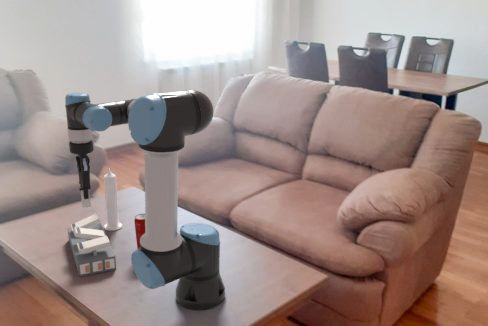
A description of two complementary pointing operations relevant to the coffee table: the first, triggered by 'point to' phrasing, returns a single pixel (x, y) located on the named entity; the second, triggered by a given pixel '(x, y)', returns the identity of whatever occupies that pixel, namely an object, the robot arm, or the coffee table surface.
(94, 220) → the rocker far
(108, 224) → the candle
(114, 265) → the console
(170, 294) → the coffee table surface
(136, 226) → the beverage can
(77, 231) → the rocker mid
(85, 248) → the rocker near
